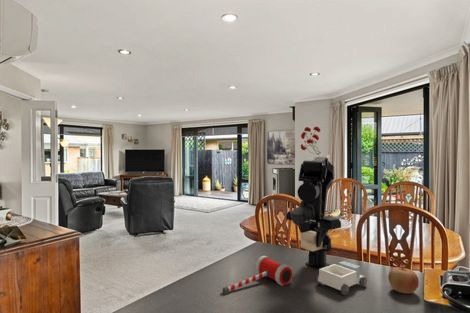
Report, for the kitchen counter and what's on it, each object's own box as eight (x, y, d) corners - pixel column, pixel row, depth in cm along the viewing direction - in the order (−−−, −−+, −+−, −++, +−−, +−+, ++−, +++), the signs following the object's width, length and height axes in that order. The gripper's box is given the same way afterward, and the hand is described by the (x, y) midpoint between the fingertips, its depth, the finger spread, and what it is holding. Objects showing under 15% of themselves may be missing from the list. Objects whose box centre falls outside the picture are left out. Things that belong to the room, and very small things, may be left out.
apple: (381, 288, 94) (382, 262, 94) (399, 284, 97) (400, 259, 97) (405, 299, 87) (406, 271, 87) (424, 295, 90) (424, 268, 90)
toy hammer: (235, 303, 84) (236, 280, 84) (213, 287, 93) (213, 266, 93) (293, 283, 97) (293, 264, 97) (268, 272, 107) (269, 253, 107)
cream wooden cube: (310, 245, 104) (310, 230, 104) (322, 248, 100) (322, 233, 100) (300, 247, 101) (300, 232, 101) (312, 251, 97) (312, 235, 97)
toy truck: (339, 275, 103) (339, 259, 103) (366, 285, 96) (367, 267, 96) (315, 285, 95) (315, 267, 95) (343, 296, 88) (343, 277, 88)
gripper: (275, 196, 104) (274, 242, 104) (319, 203, 88) (318, 257, 88) (297, 194, 110) (296, 237, 110) (342, 201, 95) (341, 250, 95)
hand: (311, 245), depth 101 cm, fingers closed on cream wooden cube, 5 cm apart
